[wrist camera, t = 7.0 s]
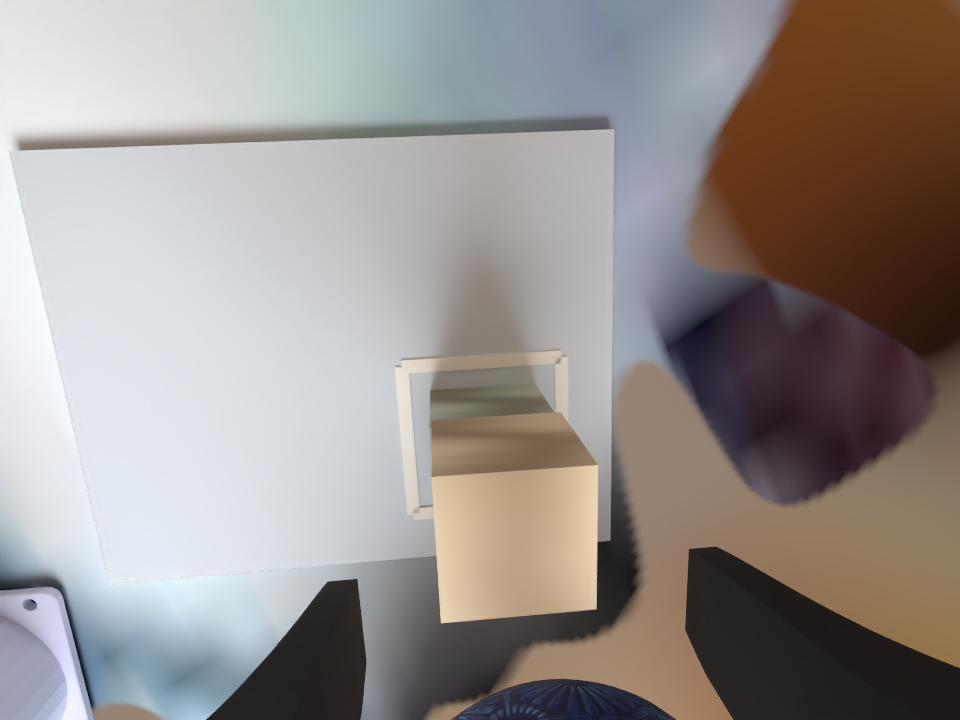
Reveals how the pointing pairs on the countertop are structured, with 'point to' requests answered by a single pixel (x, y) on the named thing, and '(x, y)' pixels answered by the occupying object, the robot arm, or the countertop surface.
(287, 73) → the countertop surface
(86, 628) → the countertop surface
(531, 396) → the sage base cube
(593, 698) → the planter
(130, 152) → the white rectangular panel
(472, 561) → the maple cube
